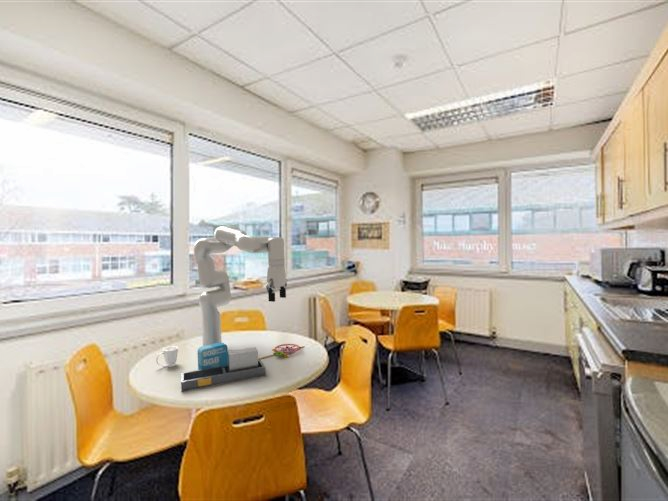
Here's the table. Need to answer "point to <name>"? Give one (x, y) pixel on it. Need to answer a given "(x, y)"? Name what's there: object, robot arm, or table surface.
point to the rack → (226, 371)
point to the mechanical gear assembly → (283, 350)
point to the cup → (169, 356)
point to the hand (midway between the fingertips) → (277, 299)
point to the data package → (212, 356)
